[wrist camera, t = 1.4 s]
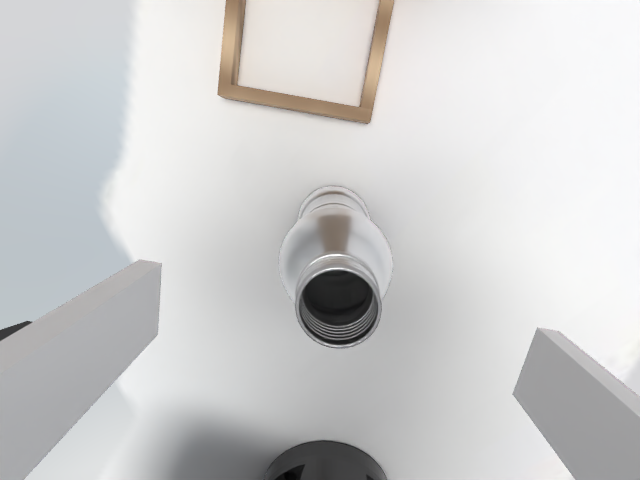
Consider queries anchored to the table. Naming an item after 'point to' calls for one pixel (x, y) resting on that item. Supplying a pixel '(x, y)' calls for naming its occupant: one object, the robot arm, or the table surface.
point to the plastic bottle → (336, 268)
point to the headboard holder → (290, 102)
